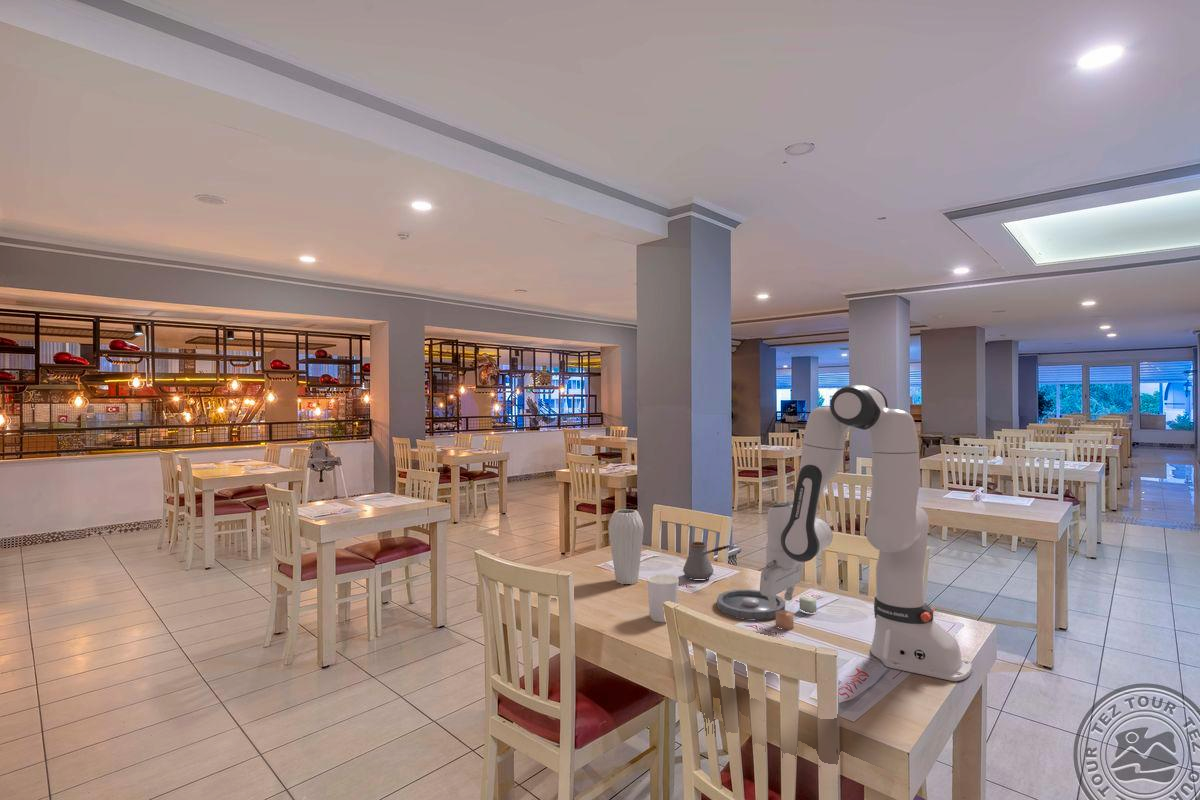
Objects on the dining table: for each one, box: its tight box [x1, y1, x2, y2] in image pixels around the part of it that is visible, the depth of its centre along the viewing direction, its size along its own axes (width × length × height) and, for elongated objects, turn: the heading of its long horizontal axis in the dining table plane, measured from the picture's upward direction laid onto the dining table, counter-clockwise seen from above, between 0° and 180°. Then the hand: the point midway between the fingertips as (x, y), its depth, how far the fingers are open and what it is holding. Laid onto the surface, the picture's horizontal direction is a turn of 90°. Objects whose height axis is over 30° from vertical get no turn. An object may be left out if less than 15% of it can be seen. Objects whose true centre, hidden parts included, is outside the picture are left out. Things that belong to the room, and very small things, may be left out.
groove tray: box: [716, 588, 786, 621], centre depth 182 cm, size 21×21×2 cm
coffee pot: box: [682, 541, 733, 580], centre depth 211 cm, size 21×12×15 cm, turn 38°
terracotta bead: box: [775, 609, 795, 631], centre depth 167 cm, size 5×5×4 cm
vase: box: [607, 508, 644, 585], centre depth 212 cm, size 13×13×26 cm
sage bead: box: [798, 596, 818, 613], centre depth 178 cm, size 5×5×4 cm
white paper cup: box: [646, 573, 680, 623], centre depth 176 cm, size 10×10×12 cm
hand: (781, 603), depth 168 cm, fingers open, 8 cm apart
